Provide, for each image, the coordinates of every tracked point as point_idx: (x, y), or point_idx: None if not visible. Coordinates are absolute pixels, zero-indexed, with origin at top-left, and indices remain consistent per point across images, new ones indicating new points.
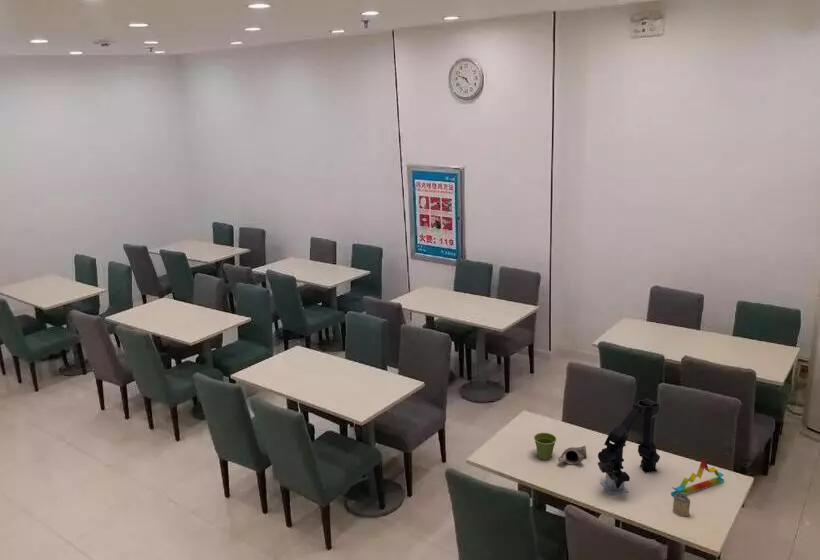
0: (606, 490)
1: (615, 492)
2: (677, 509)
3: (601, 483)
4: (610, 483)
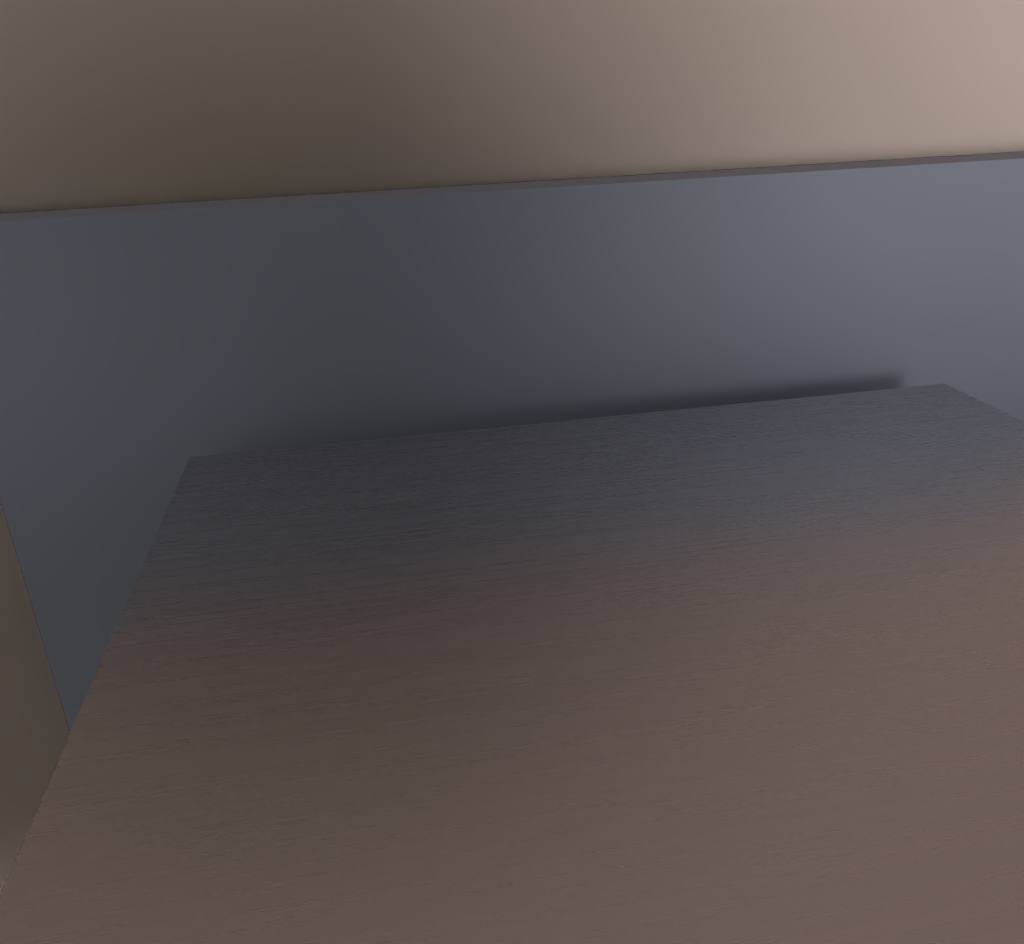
0: (315, 209)
1: (105, 624)
2: None
3: (980, 167)
4: (316, 680)
